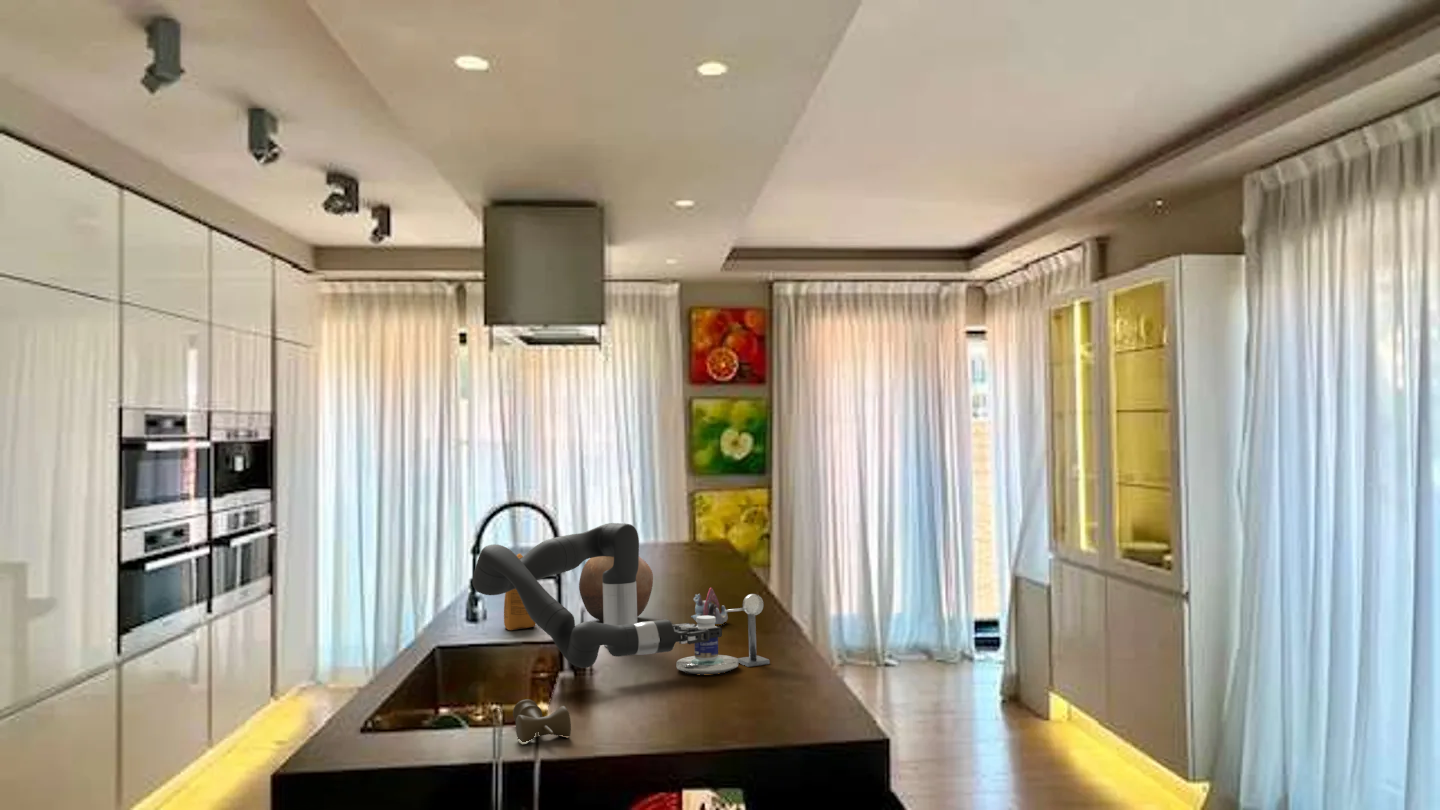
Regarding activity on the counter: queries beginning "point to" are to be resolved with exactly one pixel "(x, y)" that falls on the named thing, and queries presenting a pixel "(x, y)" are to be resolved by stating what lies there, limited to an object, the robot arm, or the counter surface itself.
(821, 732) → the counter surface
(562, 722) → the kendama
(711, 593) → the grey and red figurine
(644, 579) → the pottery
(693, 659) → the dish
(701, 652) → the pill bottle
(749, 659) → the dial stand
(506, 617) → the coffee package
